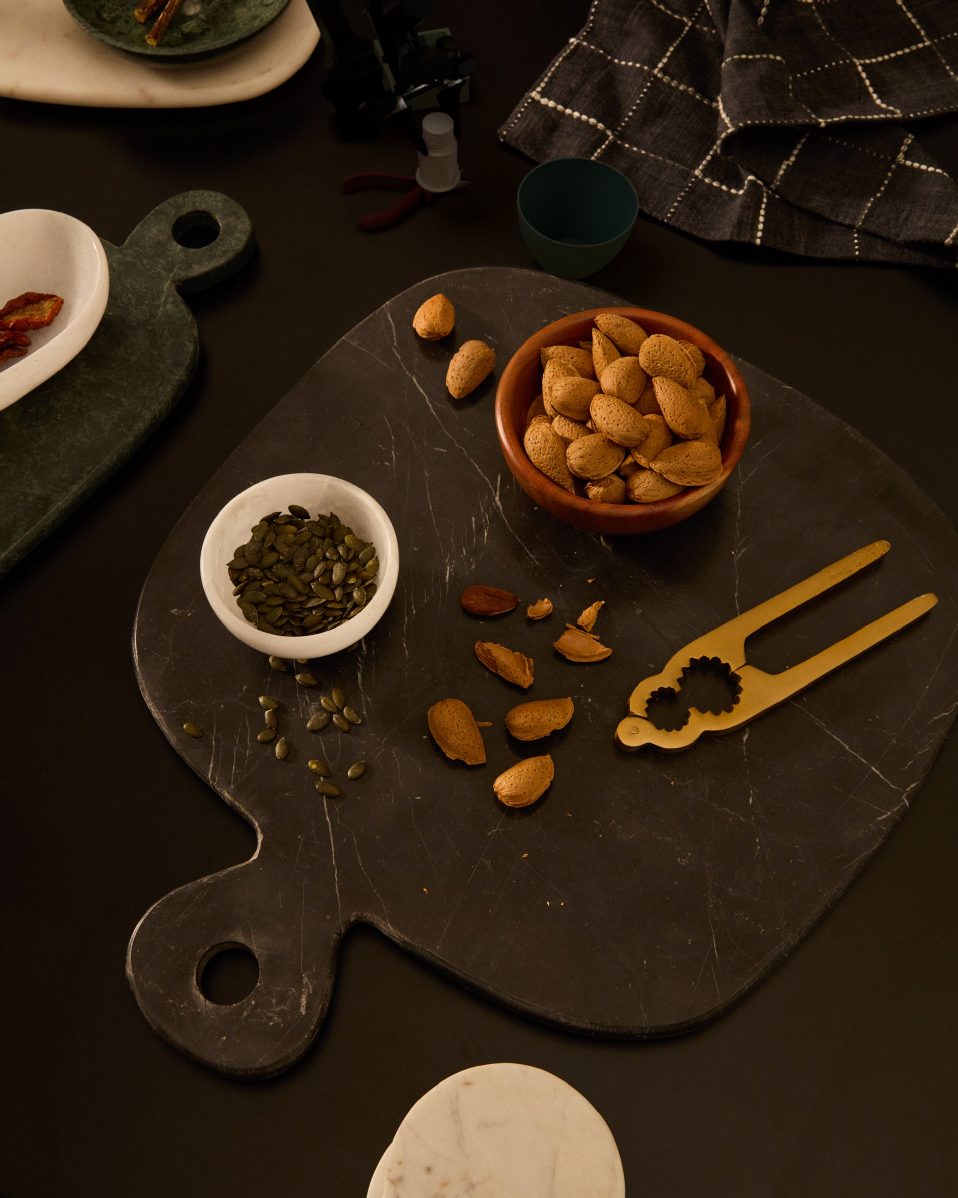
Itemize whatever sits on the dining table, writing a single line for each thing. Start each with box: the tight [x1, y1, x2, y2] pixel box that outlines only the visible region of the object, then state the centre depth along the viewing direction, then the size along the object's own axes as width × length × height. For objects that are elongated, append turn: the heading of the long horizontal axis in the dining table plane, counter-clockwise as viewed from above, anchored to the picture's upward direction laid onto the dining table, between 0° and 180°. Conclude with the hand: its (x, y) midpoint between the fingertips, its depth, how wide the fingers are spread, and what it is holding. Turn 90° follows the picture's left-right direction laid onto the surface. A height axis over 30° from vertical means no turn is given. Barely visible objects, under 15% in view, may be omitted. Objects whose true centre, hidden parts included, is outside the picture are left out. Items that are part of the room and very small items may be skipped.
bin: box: [373, 27, 470, 112], centre depth 171 cm, size 14×14×5 cm
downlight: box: [415, 111, 461, 193], centre depth 149 cm, size 8×7×10 cm
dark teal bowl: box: [516, 156, 640, 281], centre depth 151 cm, size 18×18×12 cm
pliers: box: [342, 168, 471, 231], centre depth 160 cm, size 12×20×3 cm, turn 110°
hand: (442, 147), depth 147 cm, fingers closed on downlight, 6 cm apart
